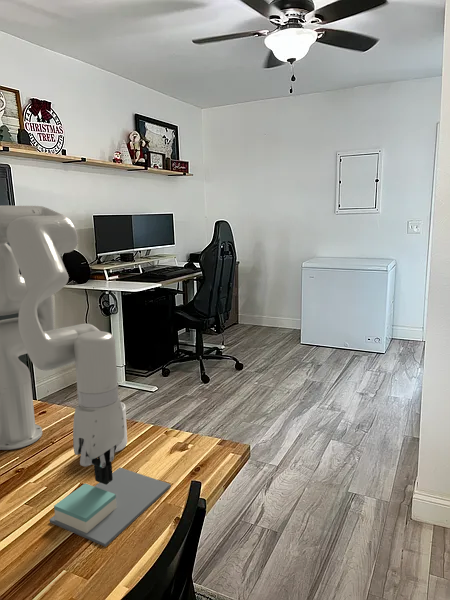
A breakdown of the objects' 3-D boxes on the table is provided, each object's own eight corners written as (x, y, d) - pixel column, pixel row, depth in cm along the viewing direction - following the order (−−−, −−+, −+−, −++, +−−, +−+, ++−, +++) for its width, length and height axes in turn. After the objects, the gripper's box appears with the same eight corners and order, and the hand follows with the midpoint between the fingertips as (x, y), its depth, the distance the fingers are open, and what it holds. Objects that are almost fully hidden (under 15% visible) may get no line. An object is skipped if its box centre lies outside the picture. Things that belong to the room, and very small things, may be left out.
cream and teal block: (86, 496, 93) (55, 519, 86) (85, 483, 93) (54, 505, 86) (116, 507, 90) (86, 533, 83) (115, 494, 89) (85, 518, 82)
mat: (49, 522, 87) (49, 519, 87) (120, 469, 104) (119, 467, 104) (105, 546, 80) (105, 543, 80) (170, 486, 97) (170, 484, 97)
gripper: (109, 379, 96) (114, 458, 100) (53, 406, 83) (61, 496, 87) (137, 385, 93) (142, 467, 97) (84, 414, 80) (91, 507, 84)
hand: (104, 480), depth 92 cm, fingers closed
